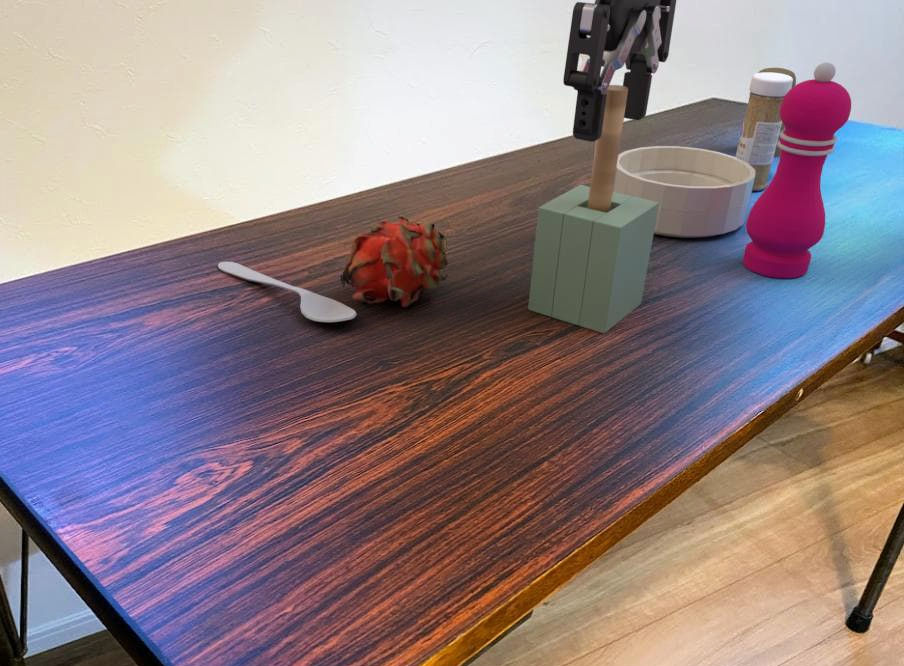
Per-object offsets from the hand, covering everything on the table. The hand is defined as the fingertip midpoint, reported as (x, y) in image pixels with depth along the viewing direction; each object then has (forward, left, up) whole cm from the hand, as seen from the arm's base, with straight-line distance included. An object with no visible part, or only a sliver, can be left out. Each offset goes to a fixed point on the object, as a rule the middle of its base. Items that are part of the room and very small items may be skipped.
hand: (609, 128), depth 76 cm
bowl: (+3, -28, -17) cm, 33 cm away
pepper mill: (-11, -21, -17) cm, 29 cm away
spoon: (+24, +16, -17) cm, 33 cm away
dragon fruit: (+15, +10, -17) cm, 25 cm away
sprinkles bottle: (0, -44, -17) cm, 47 cm away
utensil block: (0, 0, -17) cm, 17 cm away
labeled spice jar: (+4, -60, -17) cm, 63 cm away
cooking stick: (0, 0, -17) cm, 17 cm away
